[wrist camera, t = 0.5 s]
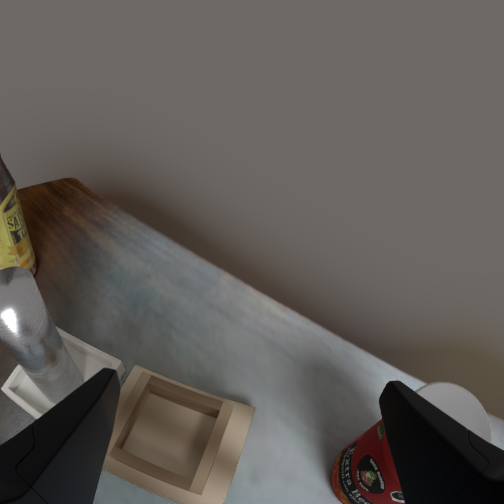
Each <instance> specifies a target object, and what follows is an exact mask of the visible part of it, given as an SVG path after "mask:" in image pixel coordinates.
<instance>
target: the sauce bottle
mask: <svg viewBox="0 0 504 504" xmlns="http://www.w3.org/2000/svg"><path fill="white" fill-rule="evenodd" d="M12 266H20V267H24V268H26V269H28V270H29V271H30V272H31V273H32V275H33V277H34V275H35V273H36V269H37V265H36V261H35V254H34V251H33V248H32V245H31V242H30V239H29V235H28V232H27V228H26V225H25V221H24V217H23V214H22V210H21V206H20V202H19V197H18V193H17V189H16V184H15V181H14V179H13V178H12V176H11V174H10V173H9V171H8V169H7V168H6V166H5V164H4V162H3V160H2V158H1V156H0V270H2V269H4V268H8V267H12Z"/></svg>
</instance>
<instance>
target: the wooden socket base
mask: <svg viewBox="0 0 504 504" xmlns="http://www.w3.org/2000/svg"><path fill="white" fill-rule="evenodd" d="M254 411H255V407H252V406H248V405H245V404H241V403H238V402H235V401H231V400H228V399H225V398H222V397H219V396H216V395H213V394H210V393H207V392H204V391H201V390H198V389H196V388H193V387H190V386H187V385H185V384H182V383H179V382H177V381H174V380H172V379H169V378H167V377H164V376H162V375H159V374H157V373H154V372H152V371H149V370H147V369H145V368H142V367H140V366H138V365H136V364H135V366H134V367H133V369H132V371H131V372H130V374H129V376H128V377H127V379H126V381H125V383H124V384H123V386H122V388H121V389H120V396H119V401H118V407H117V412H116V417H115V423H114V428H113V433H112V437H111V440H110V443H109V447H108V450H107V453H106V457H105V460H104V464H103V467H102V468H103V469H105V470H106V471H108V472H110V473H112V474H114V475H116V476H118V477H120V478H122V479H124V480H126V481H128V482H130V483H132V484H134V485H136V486H138V487H141V488H143V489H145V490H147V491H149V492H152V493H154V494H157V495H159V496H161V497H164V498H166V499H169V500H171V501H174V502H177V503H179V504H224V501H225V499H226V496H227V493H228V490H229V487H230V484H231V481H232V479H233V476H234V473H235V470H236V467H237V464H238V461H239V458H240V455H241V452H242V449H243V445H244V442H245V439H246V436H247V433H248V430H249V427H250V423H251V420H252V417H253V414H254Z"/></svg>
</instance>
